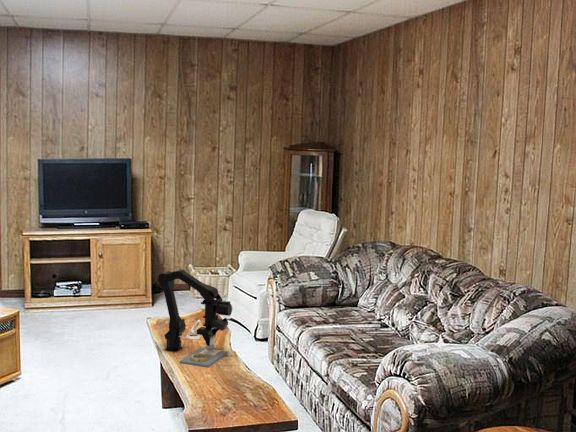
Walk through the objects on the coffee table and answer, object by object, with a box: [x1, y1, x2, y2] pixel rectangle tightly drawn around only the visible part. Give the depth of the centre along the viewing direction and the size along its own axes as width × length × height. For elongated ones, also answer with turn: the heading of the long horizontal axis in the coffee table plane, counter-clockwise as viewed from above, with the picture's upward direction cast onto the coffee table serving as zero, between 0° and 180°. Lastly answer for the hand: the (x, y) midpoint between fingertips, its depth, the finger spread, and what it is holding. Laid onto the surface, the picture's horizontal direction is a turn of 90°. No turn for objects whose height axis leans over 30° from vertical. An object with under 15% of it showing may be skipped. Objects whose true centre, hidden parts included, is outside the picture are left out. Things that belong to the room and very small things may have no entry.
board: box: [179, 347, 229, 368], centre depth 330 cm, size 15×22×1 cm
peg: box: [205, 334, 216, 351], centre depth 336 cm, size 4×4×7 cm
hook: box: [185, 319, 202, 340], centre depth 362 cm, size 8×12×7 cm
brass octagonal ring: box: [190, 353, 209, 362], centre depth 325 cm, size 8×8×2 cm
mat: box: [200, 348, 222, 356], centre depth 336 cm, size 8×8×1 cm
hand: (210, 344), depth 336 cm, fingers closed on peg, 4 cm apart
